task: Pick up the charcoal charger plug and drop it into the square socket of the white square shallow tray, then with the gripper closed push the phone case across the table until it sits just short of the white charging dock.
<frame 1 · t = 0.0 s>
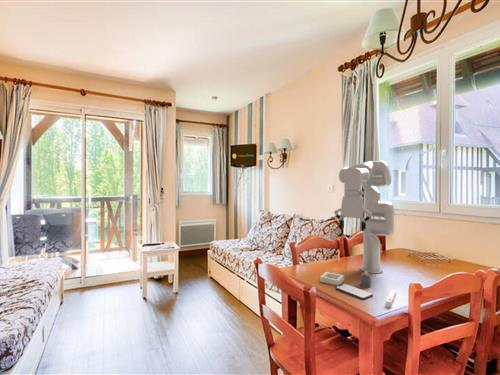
hand: (352, 229, 131), 31 cm above the table, tool pointing down, fingers open, 9 cm apart
phone case: (353, 293, 134), on the table
charger plug: (366, 285, 143), on the table
white square shallow tray: (332, 281, 149), on the table
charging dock: (391, 300, 125), on the table
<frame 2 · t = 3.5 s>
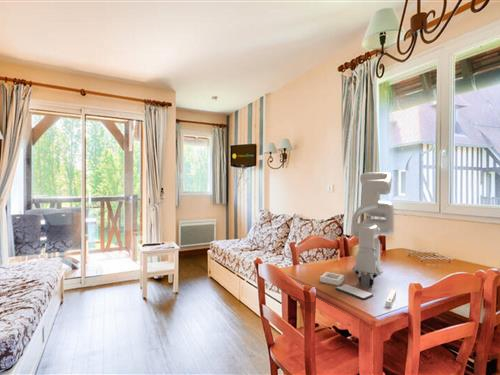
hand: (366, 284, 143), 1 cm above the table, tool pointing down, fingers closed on charger plug, 4 cm apart
charger plug: (365, 285, 143), on the table, touching gripper
everything else where it was.
when the fingers open (3 cm above the table, at t = 7.3 s): charger plug drops 2 cm, resting on white square shallow tray.
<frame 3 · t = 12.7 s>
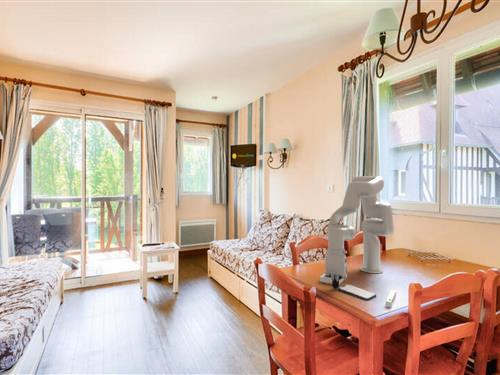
hand: (335, 288, 138), 1 cm above the table, tool pointing down, fingers closed
phone case: (356, 294, 133), on the table
charger plug: (331, 280, 150), point 1 cm above the table, touching white square shallow tray
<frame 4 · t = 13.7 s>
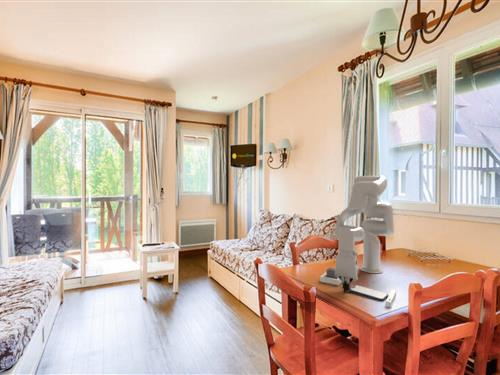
hand: (346, 290, 135), 1 cm above the table, tool pointing down, fingers closed
phone case: (368, 295, 132), on the table, touching gripper
everything else where it was.
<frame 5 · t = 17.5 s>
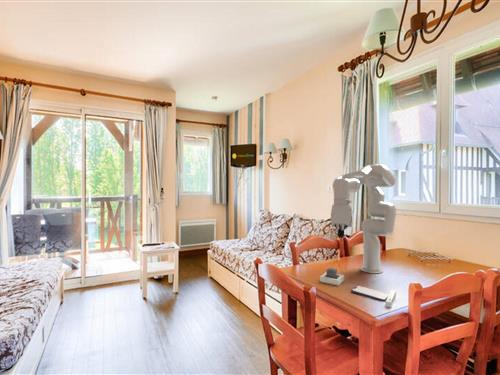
hand: (341, 237, 143), 25 cm above the table, tool pointing down, fingers closed
phone case: (370, 295, 132), on the table
everything else where it was.
at the end: charger plug 0.3 cm off-centre on the white square shallow tray, point 0.6 cm above the white square shallow tray's base; charger plug tilted 0°; phone case inside the target area (2.9 cm from its centre), on the table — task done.
